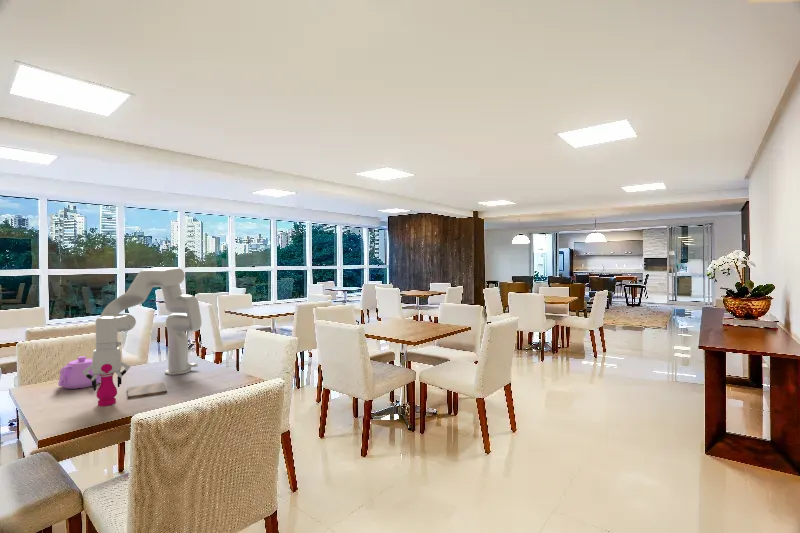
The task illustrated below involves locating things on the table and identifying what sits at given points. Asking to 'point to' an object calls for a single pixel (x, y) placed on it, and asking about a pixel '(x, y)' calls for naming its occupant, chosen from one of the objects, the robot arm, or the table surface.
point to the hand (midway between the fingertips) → (106, 387)
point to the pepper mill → (106, 387)
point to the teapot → (76, 374)
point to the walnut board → (146, 390)
